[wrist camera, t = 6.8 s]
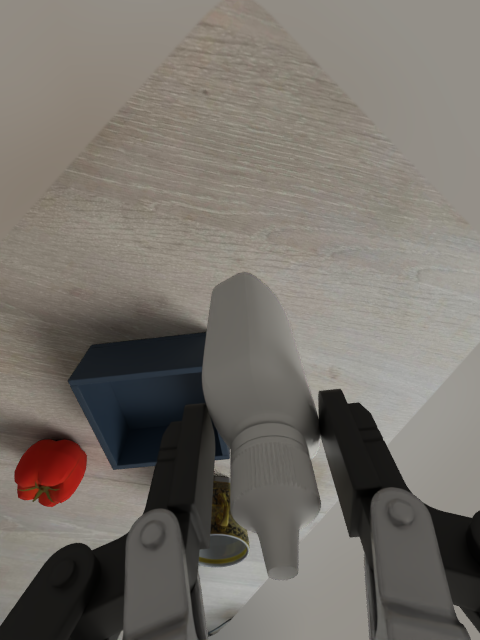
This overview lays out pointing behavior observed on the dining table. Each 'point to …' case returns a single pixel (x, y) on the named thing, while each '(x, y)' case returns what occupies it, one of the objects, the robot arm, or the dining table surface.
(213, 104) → the dining table surface
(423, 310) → the dining table surface
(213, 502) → the ceramic cup
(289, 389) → the eye dropper bottle
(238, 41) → the dining table surface
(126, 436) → the bin
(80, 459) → the tomato
